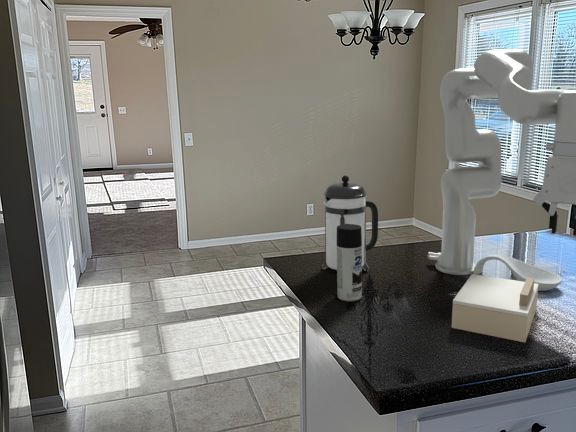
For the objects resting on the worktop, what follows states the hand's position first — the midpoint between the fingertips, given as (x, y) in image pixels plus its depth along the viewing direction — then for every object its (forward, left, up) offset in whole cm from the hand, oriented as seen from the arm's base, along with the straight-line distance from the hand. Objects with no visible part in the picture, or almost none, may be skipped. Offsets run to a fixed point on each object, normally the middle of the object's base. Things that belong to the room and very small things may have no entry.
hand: (564, 232), depth 116 cm
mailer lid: (-13, 0, -17) cm, 22 cm away
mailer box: (-13, 0, -23) cm, 27 cm away
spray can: (-50, -4, -23) cm, 55 cm away
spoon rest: (-12, +28, -24) cm, 39 cm away
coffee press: (-60, +17, -23) cm, 67 cm away
